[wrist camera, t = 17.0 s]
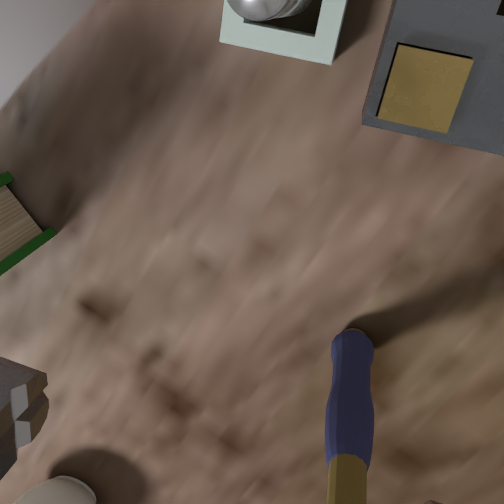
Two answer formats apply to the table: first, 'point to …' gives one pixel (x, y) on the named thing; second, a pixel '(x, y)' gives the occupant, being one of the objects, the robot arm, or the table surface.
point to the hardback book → (17, 229)
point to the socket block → (464, 45)
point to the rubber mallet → (349, 418)
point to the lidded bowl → (58, 492)
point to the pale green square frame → (287, 34)
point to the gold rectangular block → (423, 87)
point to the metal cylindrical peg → (268, 8)
